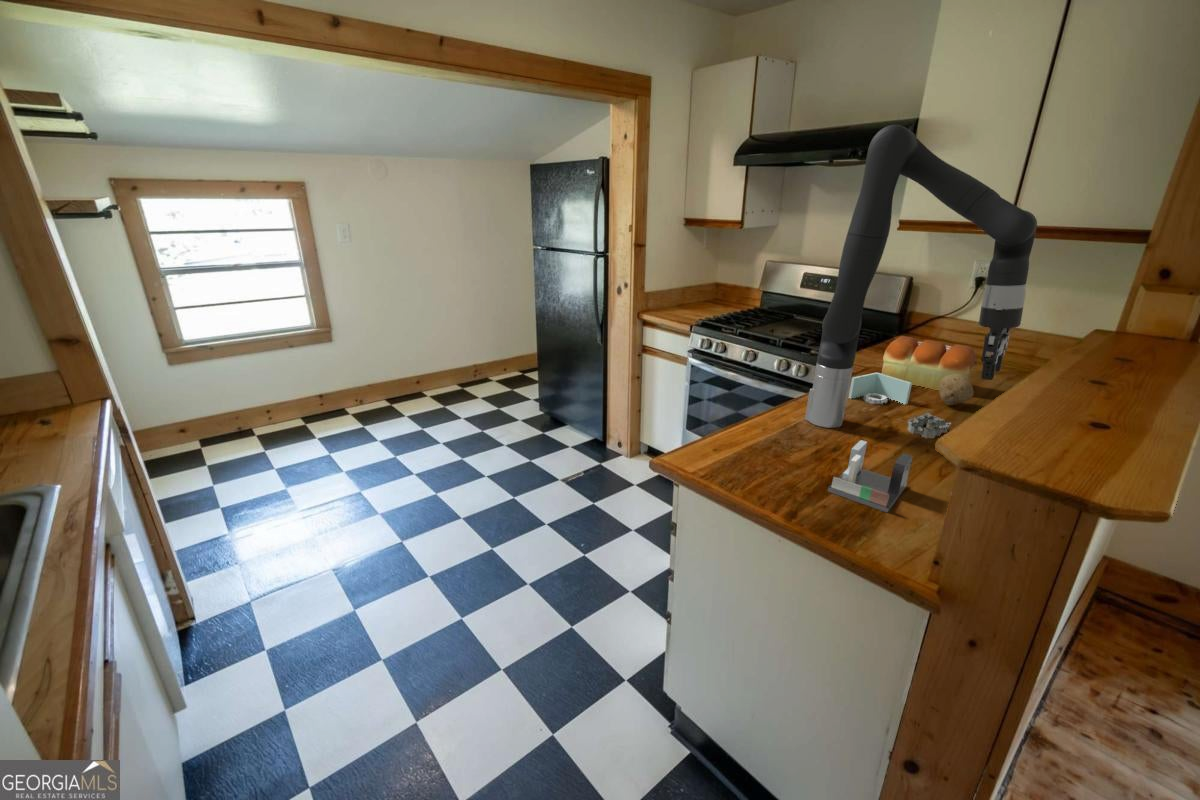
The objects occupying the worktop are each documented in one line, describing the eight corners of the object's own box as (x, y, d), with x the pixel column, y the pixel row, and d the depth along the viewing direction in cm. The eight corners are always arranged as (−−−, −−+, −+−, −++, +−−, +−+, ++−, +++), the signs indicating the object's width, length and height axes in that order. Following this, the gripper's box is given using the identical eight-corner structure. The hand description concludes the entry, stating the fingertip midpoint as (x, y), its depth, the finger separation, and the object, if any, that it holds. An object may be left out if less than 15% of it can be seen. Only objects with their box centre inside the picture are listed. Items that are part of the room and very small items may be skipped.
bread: (968, 387, 177) (979, 345, 172) (961, 396, 169) (973, 352, 163) (888, 371, 193) (897, 332, 188) (878, 379, 184) (886, 339, 179)
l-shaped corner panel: (848, 399, 167) (852, 377, 164) (872, 393, 172) (877, 372, 169) (881, 412, 157) (886, 389, 154) (907, 405, 162) (912, 383, 159)
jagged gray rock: (929, 441, 137) (932, 427, 136) (902, 431, 144) (905, 417, 142) (952, 433, 142) (955, 419, 141) (924, 423, 148) (928, 410, 147)
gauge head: (838, 484, 113) (844, 455, 111) (855, 467, 121) (860, 440, 118) (845, 486, 113) (851, 457, 110) (861, 469, 120) (867, 441, 117)
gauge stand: (827, 491, 113) (833, 458, 110) (849, 468, 123) (856, 438, 120) (887, 512, 105) (895, 478, 103) (906, 486, 115) (914, 454, 112)
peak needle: (844, 489, 111) (850, 460, 109) (850, 482, 114) (856, 454, 111) (849, 490, 111) (855, 461, 108) (855, 484, 113) (861, 455, 111)
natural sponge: (969, 404, 162) (977, 373, 158) (969, 413, 155) (978, 381, 151) (935, 398, 167) (942, 368, 163) (933, 406, 160) (941, 376, 156)
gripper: (988, 300, 123) (977, 366, 128) (975, 308, 114) (964, 380, 118) (1028, 301, 118) (1016, 370, 123) (1018, 310, 108) (1005, 384, 113)
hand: (990, 375), depth 121 cm, fingers open, 8 cm apart
